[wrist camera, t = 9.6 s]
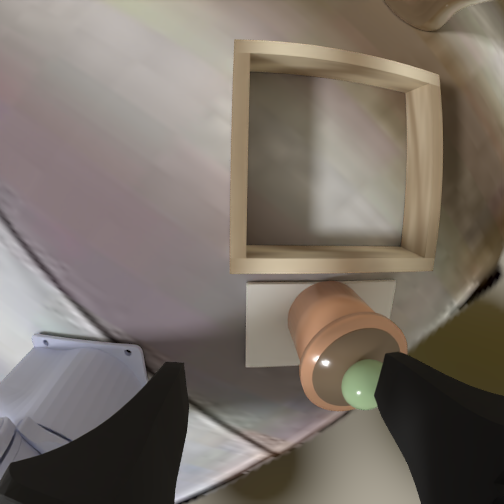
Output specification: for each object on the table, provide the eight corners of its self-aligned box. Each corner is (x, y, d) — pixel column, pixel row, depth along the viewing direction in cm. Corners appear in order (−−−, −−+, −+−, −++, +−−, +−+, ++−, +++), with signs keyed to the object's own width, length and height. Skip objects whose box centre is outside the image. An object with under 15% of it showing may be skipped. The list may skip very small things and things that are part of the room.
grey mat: (245, 364, 20) (245, 367, 20) (246, 282, 19) (246, 284, 19) (379, 354, 21) (381, 357, 21) (393, 279, 20) (396, 281, 19)
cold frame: (230, 258, 18) (229, 273, 16) (233, 59, 16) (234, 39, 13) (408, 258, 19) (432, 270, 16) (414, 84, 16) (439, 75, 14)
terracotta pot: (280, 356, 20) (306, 451, 12) (284, 277, 19) (322, 353, 10) (358, 349, 20) (412, 430, 12) (369, 274, 19) (445, 336, 11)
